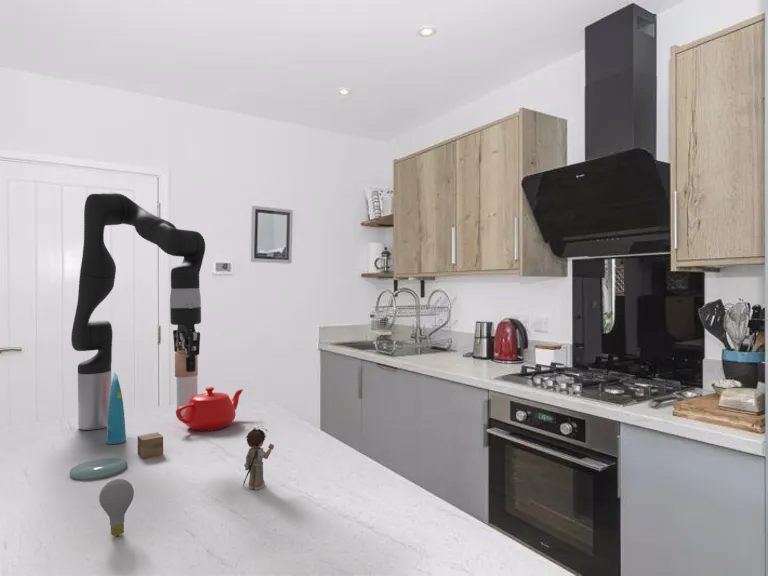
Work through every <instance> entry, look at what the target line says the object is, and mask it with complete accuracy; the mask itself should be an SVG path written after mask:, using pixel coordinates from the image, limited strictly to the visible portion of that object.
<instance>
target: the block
mask: <svg viewBox="0 0 768 576" xmlns="http://www.w3.org/2000/svg"><path fill="white" fill-rule="evenodd" d="M137 455H138V457H140V459H142V460H147V459H151V458H158V457H161V456H164V436H163V435H162V434H161V433H160V432H158V431H156V432H152V433H145V434H139V435H137Z"/></svg>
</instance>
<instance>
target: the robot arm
mask: <svg viewBox="0 0 768 576" xmlns="http://www.w3.org/2000/svg"><path fill="white" fill-rule="evenodd" d="M83 210H84V211H83V247H82V258H81V264H80V268H79V269H80V271H79V278H78V280H79V281H78V292H77V293H78V295H77V303H76V309H75V315H74V319H73V323H72V329H71V337H70V338H71V340H70V341H71V345H72V348H73V350H75V351H76V352H87V351H88V352H89V351H97V352H96V354H95V355H94V356H92V357H91V358H89V359H87V360H84V361H81V362H80V363H79V364H78V365H77V404H78V405H77V410H78V411H77V414H78V415H77V417H78V419H77V421H78V422H77V425H78V426H77V427H78V430H83V431H90V430H91V431H93V430H100V429H105V428H107V424H108V411H109V401H110V393H111V386H112V361H113V360H112V357H113V356H112V354H113V352H112V351H113V327H112V325H111V322H110V321H109V320H91V316H92V314H93V313H94V311H95V310H96V308H97V307H98V306H99V305H100V304H101V303H102V302H103V301H104V300H105V299H106V298H107V297H108V295H109V294H111V292H112V290H113V288H114V287H115V286H114V285H115V279H116V273H117V267H116V266H117V265H116V263H115V260H114V258H113V255H111V253H110V251H109V250H108V249H107V246H106V244H105V240H104V239H105V238H104V233H105V228H106V226H119V225H129V226H133V227H134V229H135V232H136V233H137V234H138V235H139V237H141V238H142V239H144V240H146V241H148V242H150V243H152V244H153V245H156V246H157V247H158V248H160V249H161V251H163V252H164V253H166V254H167V255H169V256H173V257H183V259H182V260H183V261H182V263H181V264H180V265H176V266H174V267H172V268H171V270H170V296H169V305H170V306H169V311H170V315H169V316H170V318H169V319H170V324H171V325H172V326H177V329H173V330H172V337H173V338H172V339H173V351H174V353H177V352H178V350H185V354H186V371H187V372H194V371H195V370H196V363H195V357H196V356H197V355H198V356H199V355H200V346H201V333H200V332H199V331H196V327H195V325H199V324H201V323H202V306H201V305H202V301H201V300H202V298H201V297H202V296H201V291H200V272H201V267H202V266H203V265H202V264H203V259H204V255H205V251H206V242H205V241H206V240H205V238H204V237H203V235H202V234H201V233H200V232H198V231H196V230H188V229H180V228H177V227H176V226H175V224H173V223H171V222H170V221H168V220H166V219H164V218H161V217H159V216H158V215H155V214H152V213H150V212H149V211H147V210H146V209H144V208H143V207H141V206H140V205H139V204H137V203H136V202H135V201H133V200H132V199H130V198H129V197H127V196H126V195H124V194H122V193H118V192H93V193H90V194H89V195H88V196H87V197H86V198H85V203H84V209H83ZM192 350H193V351H192Z"/></svg>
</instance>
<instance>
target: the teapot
mask: <svg viewBox="0 0 768 576" xmlns="http://www.w3.org/2000/svg"><path fill="white" fill-rule="evenodd" d="M214 390H215V387H213V386H209V387H205V391H206V392H205V393H200V394H198V395H195V396H193V397H191V399H190V401H189V403H188V404H187V405H184V406H181V407H179V408H178V409H177V408H176V410H175V416H176V418H177V419H178V421H180V422H181V423H183V424H185V425H186V426H187V427H189V428H191V429H192V430H194V429H195V430H194V431H198V430H200V432H210V431H211V430H212V431H217V430H221V429H224V428H226V427H227V426H229V425H230V424H232V422H234V420H235V419H236V416H237V415H236V410H237V408H238V406H239V400H240V396H241V394H242V392H243V391H244V389H243V388H242V389H238V390H236V391H235V393H234V394H233V397H232V399H231V398H230V396H229V394H228V393H225V392H224V393H223V392H213V391H214ZM185 408H186V409H185ZM183 409H185V413H184V417H182V416H181V411H182V410H183ZM209 430H210V431H209ZM212 431H211V432H212Z"/></svg>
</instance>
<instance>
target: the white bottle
mask: <svg viewBox="0 0 768 576" xmlns="http://www.w3.org/2000/svg"><path fill="white" fill-rule="evenodd" d="M175 378H176V410H177V409H178V408H179V407H181V406H184V405H187V404H188V403H189V401H190V399H191V397H193V396H195V395H199V394H198V391H199V390H198V375H197V376H193V377H175ZM185 409H186V408H185ZM185 409H183V410H182V411H181V416H182V417H183V418H184V413H185Z"/></svg>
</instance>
